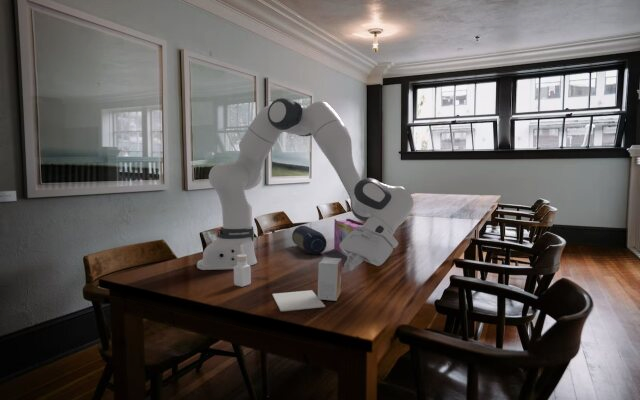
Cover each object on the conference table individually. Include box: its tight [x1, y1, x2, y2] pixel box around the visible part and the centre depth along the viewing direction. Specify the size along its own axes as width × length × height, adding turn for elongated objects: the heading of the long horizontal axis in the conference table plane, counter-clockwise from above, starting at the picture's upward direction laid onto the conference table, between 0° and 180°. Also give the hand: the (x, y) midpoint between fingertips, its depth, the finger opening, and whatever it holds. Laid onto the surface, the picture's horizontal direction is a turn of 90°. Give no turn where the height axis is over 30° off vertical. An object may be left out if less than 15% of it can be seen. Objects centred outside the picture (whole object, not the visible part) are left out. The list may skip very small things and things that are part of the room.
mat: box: [271, 289, 326, 313], centre depth 112 cm, size 12×14×1 cm
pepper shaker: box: [233, 254, 252, 288], centre depth 127 cm, size 4×4×10 cm
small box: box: [317, 256, 343, 302], centre depth 115 cm, size 8×6×10 cm
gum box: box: [333, 218, 364, 258], centre depth 172 cm, size 24×8×14 cm, turn 17°
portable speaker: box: [291, 225, 327, 255], centre depth 178 cm, size 25×10×10 cm, turn 20°
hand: (347, 268), depth 117 cm, fingers closed
